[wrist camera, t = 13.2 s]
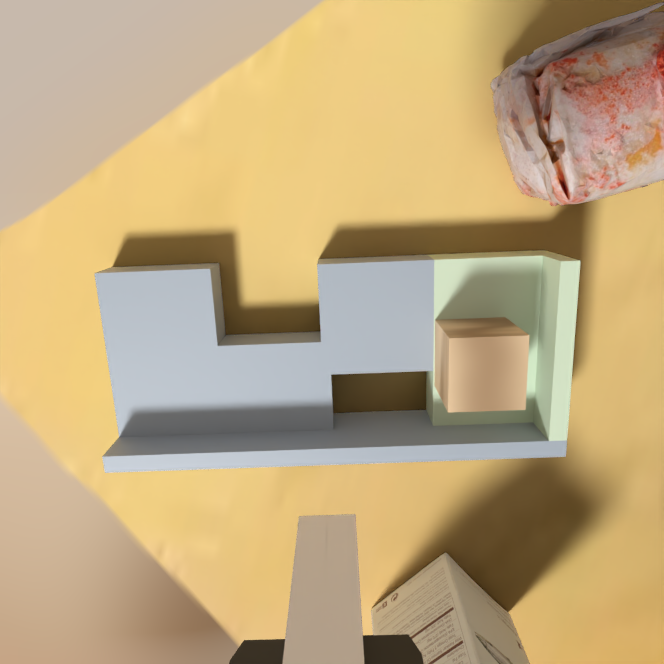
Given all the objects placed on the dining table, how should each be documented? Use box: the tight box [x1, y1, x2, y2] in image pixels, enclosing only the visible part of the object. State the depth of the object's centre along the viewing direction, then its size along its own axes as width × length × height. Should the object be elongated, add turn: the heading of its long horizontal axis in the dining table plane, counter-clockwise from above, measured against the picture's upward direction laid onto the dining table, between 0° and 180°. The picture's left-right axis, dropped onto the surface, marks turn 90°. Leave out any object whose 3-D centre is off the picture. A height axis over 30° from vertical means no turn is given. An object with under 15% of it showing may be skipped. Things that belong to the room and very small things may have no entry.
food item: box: [491, 2, 664, 206], centre depth 26 cm, size 14×8×10 cm, turn 109°
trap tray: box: [95, 250, 581, 473], centre depth 32 cm, size 26×11×5 cm, turn 92°
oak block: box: [434, 317, 530, 413], centre depth 30 cm, size 4×4×4 cm
